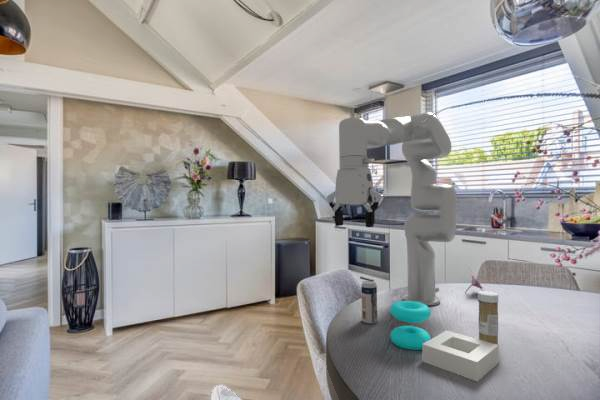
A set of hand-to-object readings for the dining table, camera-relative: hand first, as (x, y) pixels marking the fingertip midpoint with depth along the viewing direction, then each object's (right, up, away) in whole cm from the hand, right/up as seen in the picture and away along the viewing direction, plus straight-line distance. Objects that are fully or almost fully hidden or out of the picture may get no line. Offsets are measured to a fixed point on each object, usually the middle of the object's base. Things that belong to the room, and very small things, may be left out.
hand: (354, 226), depth 94 cm
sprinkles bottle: (+33, -30, -8) cm, 45 cm away
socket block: (+22, -30, -16) cm, 40 cm away
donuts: (+14, -30, -6) cm, 34 cm away
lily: (+54, -30, +39) cm, 73 cm away
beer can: (+6, -30, +10) cm, 33 cm away
